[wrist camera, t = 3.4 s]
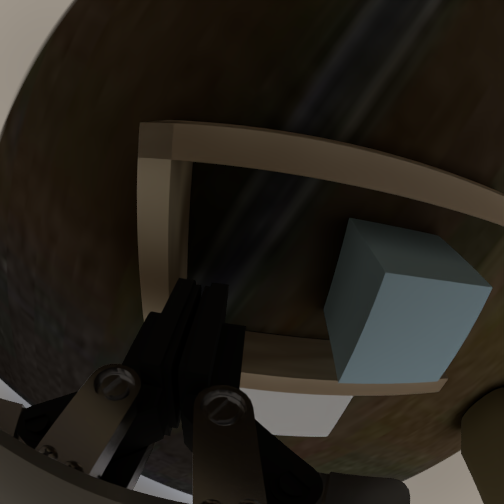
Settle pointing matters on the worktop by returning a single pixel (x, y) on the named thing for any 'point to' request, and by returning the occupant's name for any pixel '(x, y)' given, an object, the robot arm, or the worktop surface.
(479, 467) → the squeeze bottle
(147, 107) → the worktop surface
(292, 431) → the mat
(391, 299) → the blue block
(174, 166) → the cubby
